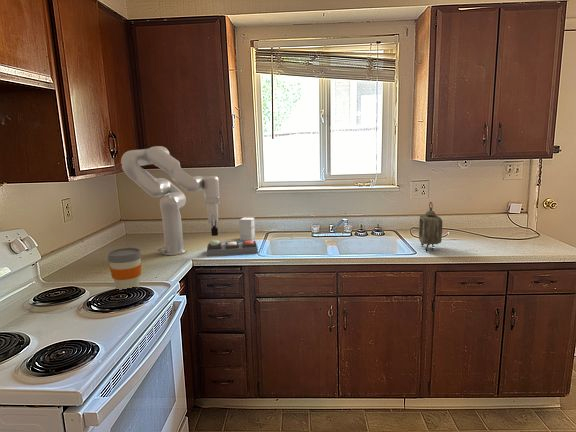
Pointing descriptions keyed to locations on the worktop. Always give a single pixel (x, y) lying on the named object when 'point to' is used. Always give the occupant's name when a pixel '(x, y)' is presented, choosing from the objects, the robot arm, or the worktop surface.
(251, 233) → the supplement box
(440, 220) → the dark metal lantern
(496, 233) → the worktop surface
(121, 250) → the reusable coffee cup
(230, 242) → the ivory button
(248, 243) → the red button
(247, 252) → the button panel
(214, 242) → the sage button
